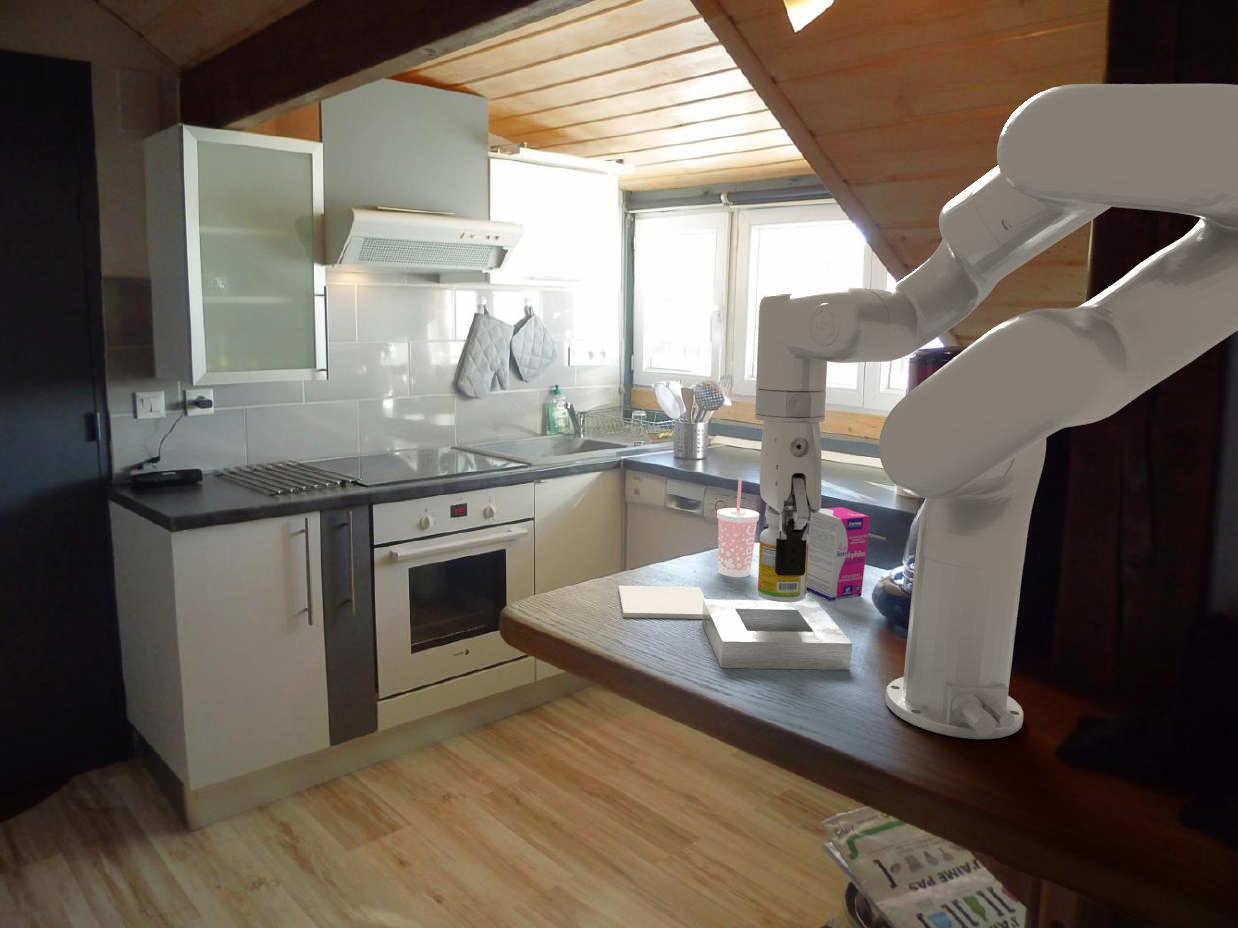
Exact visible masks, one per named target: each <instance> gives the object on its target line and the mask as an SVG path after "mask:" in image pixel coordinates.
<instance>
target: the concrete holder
mask: <svg viewBox="0 0 1238 928" xmlns="http://www.w3.org/2000/svg"><path fill="white" fill-rule="evenodd" d="M701 624H702V626H703V628H704V631H705V633H706V636H707V639H708V641H709V643H710V645H711V648H712V650H713V652H714V654H715V657H716V659H717V661H718V664H719V667H720V668H721V669H761V670H762V669H764V670H765V669H767V670H768V669H773V670H779V669H781V670H825V671H826V670H827V671H828V670H829V671H831V670H834V671H835V670H836V671H838V670H839V671H850V670H851V663H852V662H851V661H852V649H853V642H852V641H851V640H850V639H849V638H848V637H847V636H846V634H845V633H844V632H843V631H842V629H841V628H840V627H839V626H838V625H837V623H836V622H835V621H834V619H832V617H830V615H829V614H828V613H827V612H826V610H824V608H823V607H822V606H821V604H820V603H819V602H818V601H814V600H813V601H809V600H808V601H805V600H804V601H803V600H800V601H797V602H776V601H770V600H765V599H764V600H758V599H757V600H754V599H751V600H749V599H748V600H747V599H708V598H705V599H703V614H702V619H701Z"/></svg>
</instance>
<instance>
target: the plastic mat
mask: <svg viewBox="0 0 1238 928" xmlns="http://www.w3.org/2000/svg"><path fill="white" fill-rule="evenodd" d="M618 594H619V601H620V606H621V611H622V616H623V618H642V619H650V618H651V619H686V620H687V619H688V620H689V619H694V620H697V619H698V620H699V619H701V620H702V614H703V599H706V598H705V596H704V593H703V591H702V589H701V587H700V586H659V585H657V586H656V585H655V586H654V585H618Z"/></svg>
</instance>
